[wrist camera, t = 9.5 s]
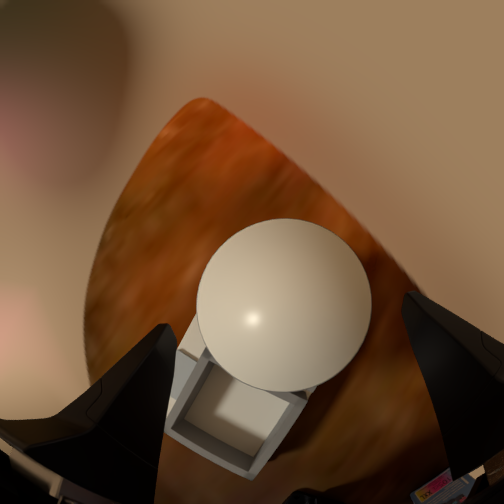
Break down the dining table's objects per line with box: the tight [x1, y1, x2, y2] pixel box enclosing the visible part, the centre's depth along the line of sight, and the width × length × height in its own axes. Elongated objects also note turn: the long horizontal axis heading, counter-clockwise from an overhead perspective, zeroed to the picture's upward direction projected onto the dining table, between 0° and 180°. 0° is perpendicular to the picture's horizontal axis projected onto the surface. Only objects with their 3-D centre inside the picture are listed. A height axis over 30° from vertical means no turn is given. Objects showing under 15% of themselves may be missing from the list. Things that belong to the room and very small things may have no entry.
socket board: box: [164, 313, 317, 481], centre depth 17 cm, size 15×10×4 cm, turn 152°
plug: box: [196, 219, 372, 393], centre depth 12 cm, size 4×4×13 cm
